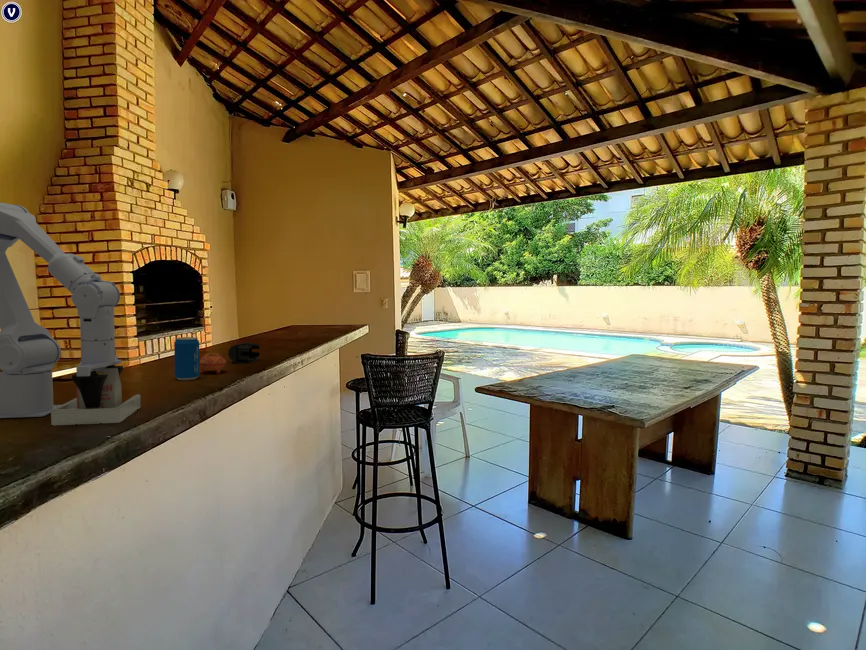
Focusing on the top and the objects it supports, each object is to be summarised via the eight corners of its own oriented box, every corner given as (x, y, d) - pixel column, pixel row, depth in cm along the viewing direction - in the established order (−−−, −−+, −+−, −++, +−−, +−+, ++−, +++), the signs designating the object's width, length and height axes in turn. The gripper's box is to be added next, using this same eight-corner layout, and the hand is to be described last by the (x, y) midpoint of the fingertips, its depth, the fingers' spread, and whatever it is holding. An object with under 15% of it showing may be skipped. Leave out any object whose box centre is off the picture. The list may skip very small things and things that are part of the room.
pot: (202, 369, 149) (207, 349, 149) (226, 375, 150) (231, 355, 149) (190, 373, 141) (196, 351, 141) (216, 379, 142) (221, 358, 141)
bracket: (51, 425, 89) (50, 410, 89) (80, 409, 101) (79, 396, 100) (119, 422, 92) (119, 407, 92) (140, 407, 104) (140, 394, 103)
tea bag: (85, 413, 98) (84, 367, 97) (122, 412, 100) (120, 366, 99) (77, 418, 94) (75, 370, 93) (115, 417, 96) (114, 369, 95)
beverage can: (189, 381, 132) (188, 339, 131) (169, 380, 133) (168, 338, 132) (204, 377, 138) (204, 337, 137) (185, 376, 139) (185, 336, 138)
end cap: (241, 359, 173) (241, 341, 172) (260, 360, 172) (260, 342, 172) (227, 363, 163) (227, 344, 162) (247, 364, 162) (247, 345, 162)
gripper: (105, 343, 90) (107, 412, 91) (132, 335, 104) (133, 395, 105) (62, 344, 88) (65, 414, 89) (96, 335, 102) (98, 396, 103)
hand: (99, 404), depth 97 cm, fingers open, 6 cm apart
